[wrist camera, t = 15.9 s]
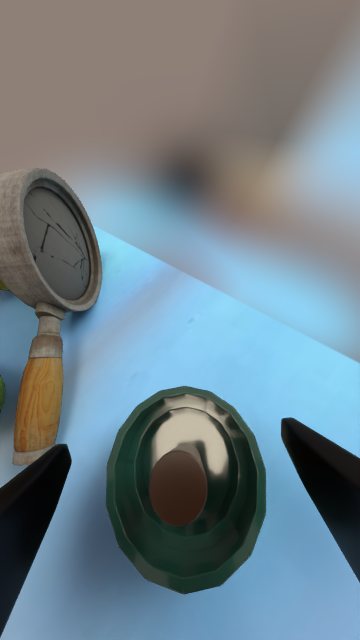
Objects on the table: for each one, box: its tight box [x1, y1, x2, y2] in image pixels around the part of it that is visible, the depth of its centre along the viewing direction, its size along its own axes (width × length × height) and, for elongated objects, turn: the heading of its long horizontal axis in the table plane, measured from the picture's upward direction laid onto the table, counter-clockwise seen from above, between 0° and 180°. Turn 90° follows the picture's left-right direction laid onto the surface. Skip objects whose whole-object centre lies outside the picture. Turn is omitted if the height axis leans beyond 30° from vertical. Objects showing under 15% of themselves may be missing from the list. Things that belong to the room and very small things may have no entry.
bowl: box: [106, 386, 266, 594], centre depth 13 cm, size 9×9×5 cm
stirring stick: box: [149, 443, 207, 526], centre depth 11 cm, size 2×2×9 cm
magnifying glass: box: [0, 168, 102, 465], centre depth 18 cm, size 13×3×25 cm
